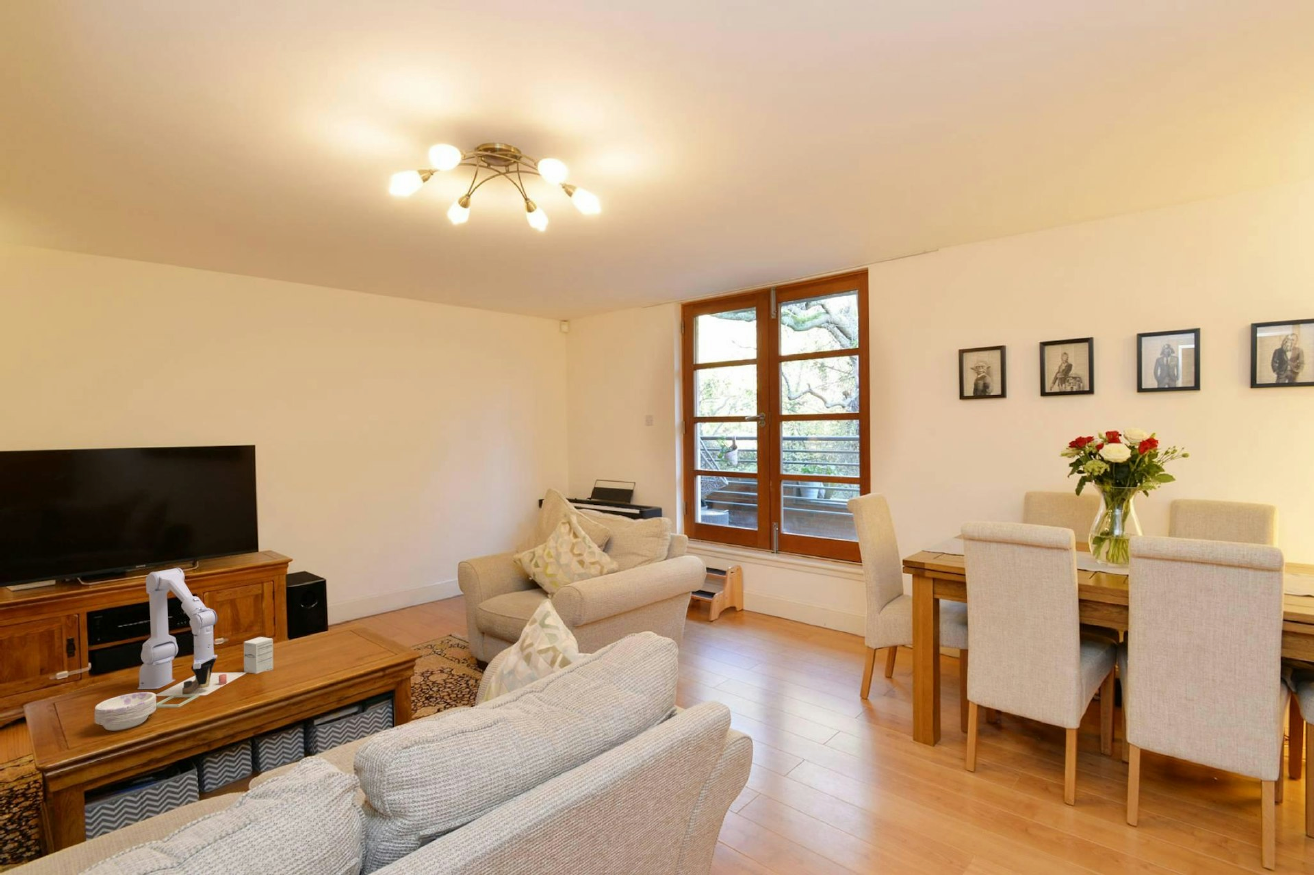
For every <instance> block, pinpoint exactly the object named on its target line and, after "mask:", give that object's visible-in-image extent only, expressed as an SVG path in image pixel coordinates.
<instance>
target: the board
mask: <svg viewBox="0 0 1314 875" xmlns="http://www.w3.org/2000/svg"><path fill="white" fill-rule="evenodd" d="M247 673H248V672H244V671H243V672H242V671H241V672H211V676H210V686H208V687H205V688H199V687H198V688H197V689H195V690H194V691H193V692H191V693H190V694H199V696H207V695H209V694H211V693H213V692H215V691H217V690H218V689H220V688H222V687H224V686H225V685H227V684H229V683H231V682H233V681H235V680H236V679H238V678H240V677H242V676H244V675H245V674H247ZM222 674H226V675H227V683H226V684H224V685H219V675H222ZM195 676H196V675H195V674H194V676H190V677H189V678H187V679H185V680H183V681H181V682H179V683H176V684H175V685H173V686H171V687H169V688H167V689H165V690H163V691H161V692H159V693H157V694H156V697H170V696H172V695H180V694H182V688H183V687H184V682H186V681H192V682H193V681H194V680H195Z"/></svg>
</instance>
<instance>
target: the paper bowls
mask: <svg viewBox="0 0 1314 875" xmlns="http://www.w3.org/2000/svg"><path fill="white" fill-rule="evenodd" d="M156 695H157V694H156V693H154V692H151V691H150V692H149V691H145V692H144V691H143V692H133V693H127V694H126V693H125V694H122V695H118V696H115V697H112V698H108V699H105V700H103V701H101V702H100V703H98V704H97V705H95V707H94V723H95V724H96V725H99V726H100V725H101V726H102V727H103V728H104V729H105V730H107V731H111V732H112V731H122V730H127V729H131V728H133V727H137V726H139V725H142V724H143V723H144V722H146V720H148V717H149V715H151V714H153V713H154V712H156V710H157V708H156V703H157V696H156Z"/></svg>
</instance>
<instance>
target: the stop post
mask: <svg viewBox="0 0 1314 875" xmlns="http://www.w3.org/2000/svg"><path fill="white" fill-rule="evenodd" d="M226 683H227V675H226V674H222V675H219V685H224V684H226ZM227 684H228V683H227ZM227 684H226V685H227ZM224 686H225V685H224Z"/></svg>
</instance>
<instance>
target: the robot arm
mask: <svg viewBox="0 0 1314 875" xmlns="http://www.w3.org/2000/svg"><path fill="white" fill-rule="evenodd" d="M145 587H146V588H145V589H146V594H149V616H150V620H149V621H150V637H149V638H148V639H147V640H146V641H145V642H144V643H143V644H142V649H141V653H140V658H141V661H142V662H143V664H141V666H140V668H139V671H138V676H139V680H138V681H139V684H138V685H139V686H138V687H137V690H158V689H160V688H162V687H164V686H167V685H169V684H171V683H173V682H175V681H176V679H173V660H174V659H175V657H176V656H177V654H178V652H179V647H178V644H177V639H176V637H175V636H174V635H170V634H169V619H168V618H169V616H168V612H169V611H168V593H169V592H170V591H171V592H172V593H173V594H174V595H175V596H176V597H177V598H178V600H180V602H182V603H181V609H182V610H183V611H184V613H185V614H186V615H187V616H188V617H189V619H190V620H189V626H190V627H191V633H192V634H193V646H194V647H193V660H192V661H193V664H192V665H191V666H190V667H191V668H190V669H191V671H192V672H193V673H194V676H195V675H196V678H197V682H198V684H199V685H202V684H206V681H207V675H208V671H209V669H210V676H211V673H213V672H212V671H213V668H214V665H215V663H216V661H217V658H218V654H215V650H214V625H216V624H217V621H218V615H217V613H216V611H215V609H212V608H210V607H206V604H204V602H203V601H202V600H201V599H200V597H198V596H196V595H195V596H193V594H192V592H191V591H190V589H189V588H188V585H187V584H186V582H185V572H184V570H182V568H180V567H175V568H171V569H165V570H160V571H159V570H158V571H151V572H150V573H149V574H148V575H146V577H145Z"/></svg>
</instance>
